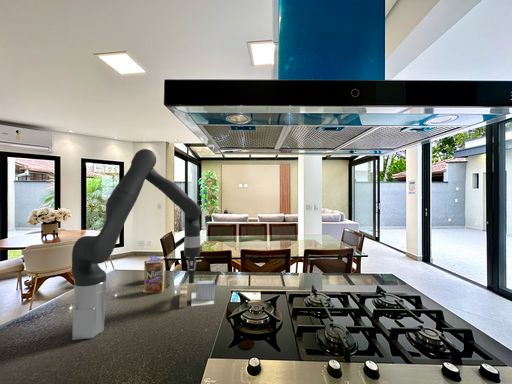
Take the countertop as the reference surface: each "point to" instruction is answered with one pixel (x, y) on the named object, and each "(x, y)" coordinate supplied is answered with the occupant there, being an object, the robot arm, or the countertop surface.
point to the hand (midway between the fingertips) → (191, 280)
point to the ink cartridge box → (152, 260)
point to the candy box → (154, 276)
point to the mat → (200, 303)
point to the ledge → (183, 296)
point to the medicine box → (205, 290)
